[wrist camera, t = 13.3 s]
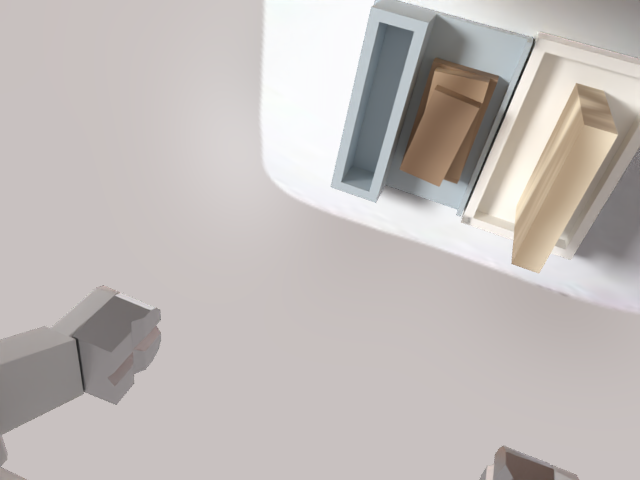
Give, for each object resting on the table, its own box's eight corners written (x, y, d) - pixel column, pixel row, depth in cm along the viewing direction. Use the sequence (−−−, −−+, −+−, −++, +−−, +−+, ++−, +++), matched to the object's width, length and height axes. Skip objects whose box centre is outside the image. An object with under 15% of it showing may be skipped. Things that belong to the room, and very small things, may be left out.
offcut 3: (490, 77, 39) (488, 82, 38) (461, 173, 43) (459, 179, 42) (437, 66, 39) (434, 70, 38) (414, 161, 44) (411, 167, 43)
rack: (533, 37, 38) (532, 51, 35) (463, 205, 47) (457, 230, 44) (378, -5, 40) (363, 4, 37) (339, 164, 49) (324, 184, 46)
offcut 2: (481, 102, 38) (479, 108, 37) (441, 180, 43) (439, 187, 42) (437, 84, 39) (434, 89, 38) (402, 163, 43) (399, 169, 42)
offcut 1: (499, 75, 40) (498, 80, 38) (459, 177, 45) (457, 184, 44) (435, 57, 40) (432, 61, 39) (403, 159, 46) (400, 165, 45)
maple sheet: (603, 90, 38) (618, 134, 31) (539, 213, 45) (538, 273, 37) (576, 82, 38) (584, 124, 31) (516, 206, 45) (511, 263, 38)
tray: (675, 68, 36) (682, 76, 35) (569, 247, 46) (570, 260, 44) (538, 31, 38) (538, 37, 36) (463, 211, 47) (460, 222, 46)
